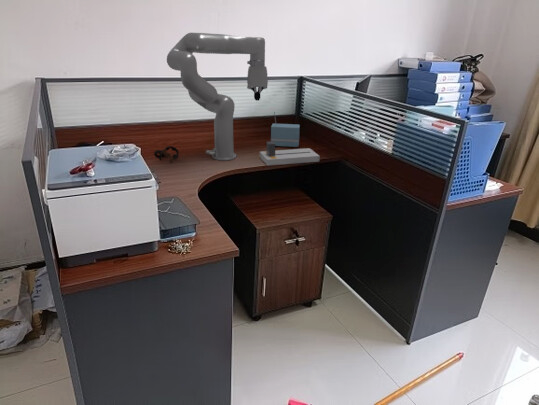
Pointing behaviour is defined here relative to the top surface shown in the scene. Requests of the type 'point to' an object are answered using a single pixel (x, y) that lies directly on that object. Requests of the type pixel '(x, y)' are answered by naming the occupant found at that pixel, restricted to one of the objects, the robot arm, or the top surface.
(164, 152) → the dark linked rings
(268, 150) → the fader knob
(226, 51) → the robot arm
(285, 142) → the radio
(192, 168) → the top surface
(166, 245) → the top surface
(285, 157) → the panel
